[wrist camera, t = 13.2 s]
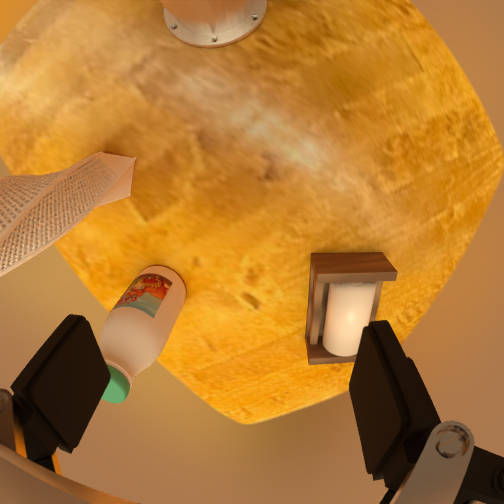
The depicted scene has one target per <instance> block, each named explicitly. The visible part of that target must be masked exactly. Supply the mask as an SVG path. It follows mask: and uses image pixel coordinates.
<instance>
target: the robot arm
mask: <svg viewBox="0 0 504 504" xmlns="http://www.w3.org/2000/svg"><path fill="white" fill-rule="evenodd" d="M158 1H159V2H160V3H161V4H162V5H163V6H164V9H163V15H164V21H165V23H166V26H167V27H168V29H169V30H170V32H171V33H172V34H173V35H174V36H175V37H177V38H178V39H179V40H181V41H182V42H185V43H187V44H189V45H193V46H196V47H204V48H213V47H221V46H226V45H229V44H232V43H235V42H238V41H239V40H241V39H243V38H245V37H247V36H248V35H249V34H251V33H252V32H253V31H254V30H255V29H256V28H257V27H258V26H259V25H260V23H261V22H262V20H263V18H264V16H265V13H266V10H267V0H158ZM255 18H256V19H257V20H253V19H255ZM176 27H177V28H176ZM175 28H176V29H175ZM214 40H217V42H216V43H213V41H214ZM110 379H111V374H110V371H109V369H108V367H107V364H106V362H105V360H104V358H103V355H102V353H101V351H100V348H99V346H98V344H97V341H96V339H95V336H94V334H93V331H92V329H91V326H90V323H89V322H88V321H87V320H86V318H85V317H84V316H82V315H73V314H70V315H68V316H67V317H66V318H65V319H64V320H63V321H62V323H61V324H60V325H59V326H58V327H57V329H56V330H55V331H54V332H53V333H52V335H51V336H50V337H49V338H48V339H47V340H46V342H45V343H44V344H43V345H42V346H41V348H40V349H39V350H38V351H37V353H36V354H35V355H34V356H33V358H32V359H31V360H30V361H29V363H28V364H27V365H26V367H25V368H24V369H23V370H22V372H21V373H20V374H19V376H18V377H17V378H16V380H15V381H14V382H13V384H12V385H11V389H12V390H13V392H14V395H13V396H12V395H11V393H10V392H9V391H8V390H6V389H0V504H139V503H136V502H132V501H129V500H125V499H122V498H119V497H115V496H112V495H109V494H106V493H103V492H101V491H98V490H95V489H92V488H90V487H87V486H85V485H82V484H80V483H77V482H75V481H72V480H70V479H68V478H65V477H63V475H62V471H61V468H60V464H59V461H58V457H57V453H56V448H57V446H58V447H59V448H60V449H61V450H63V451H65V452H68V453H70V454H71V453H72V451H73V449H74V448H76V447H77V446H78V444H79V442H80V440H81V438H82V436H83V434H84V432H85V429H86V428H87V425H88V423H89V421H90V419H91V417H92V415H93V413H94V411H95V409H96V407H97V405H98V403H99V401H100V399H101V398H102V396H103V394H104V392H105V390H106V388H107V386H108V384H109V382H110ZM349 392H350V396H351V400H352V405H353V409H354V413H355V418H356V422H357V427H358V431H359V436H360V440H361V446H362V451H363V456H364V460H365V465H366V471H367V473H368V474H372V475H373V480H374V481H375V480H380V479H384V482H385V487H387V489H386V490H385V492H384V494H383V495H382V497H381V498H380V500H379V501H378V503H377V504H504V457H501V456H499V455H496V454H494V453H491V452H489V451H486V450H484V449H481V448H479V447H476V446H474V437H473V434H472V432H471V430H470V429H469V428H468V427H467V426H466V425H464V424H462V423H460V422H457V421H445V422H443V423H441V421H440V418H439V416H438V414H437V411H436V409H435V407H434V405H433V402H432V400H431V398H430V396H429V394H428V391H427V389H426V387H425V385H424V383H423V380H422V378H421V377H420V374H419V372H418V370H417V368H416V366H415V364H414V362H413V360H412V359H411V358H409V357H406V355H405V353H404V351H403V349H402V347H401V345H400V343H399V341H398V339H397V337H396V335H395V333H394V331H393V329H392V327H391V326H390V324H389V322H388V321H387V320H381V321H371V322H369V324H368V326H364V327H363V330H362V335H361V339H360V343H359V348H358V352H357V356H356V360H355V364H354V368H353V371H352V375H351V379H350V383H349Z"/></svg>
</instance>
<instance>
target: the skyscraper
mask: <svg viewBox="0 0 504 504" xmlns="http://www.w3.org/2000/svg"><path fill="white" fill-rule="evenodd" d="M136 160H137V157H134V158H131V157H126V156H120V155H114V154H108V153H104V151H101V152H98V153H95V154H93V155H90V156H88V157H86V158H84V159H82V160H81V161H79V162H77V163H76V164H74V165H73V166H71V167H70V168H68V169H65V170H62V171H59V172H55V173H50V174H45V175H14V176H6V177H1V178H0V276H2V275H4V274H6V273H7V272H9V271H11V270H12V269H14V268H16V267H18V266H19V265H21V264H22V263H24V262H26V261H27V260H29V259H30V258H32V257H34V256H35V255H37V254H38V253H40V252H41V251H43V250H44V249H46V248H47V247H49V246H50V245H52V244H53V243H54V242H56V241H57V240H59V239H60V238H61V237H63V236H64V235H65V234H66V233H68V232H69V231H70V230H71V229H73V228H74V227H75V226H76V225H77V224H78V223H80V222H81V221H82V220H83V219H84V218H85V217H86V216H87V215H88V214H89V213H90V212H91V211H92V210H93V209H94V208H96V207H99V206H102V205H105V204H108V203H111V202H114V201H117V200H120V199H123V198H125V197H129V196H131V185H132V178H133V171H134V165H135V161H136Z"/></svg>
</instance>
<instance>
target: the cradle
mask: <svg viewBox="0 0 504 504" xmlns="http://www.w3.org/2000/svg"><path fill="white" fill-rule="evenodd" d="M396 277H397V271H396V269H395V268H394V267H393V265H392V264H391V263H390V262H389V260H388V259H387V258H386V257H385V256H384V254H383V253H382V252H374V253H311V265H310V283H309V298H308V311H307V324H306V335H305V341H306V348H307V355H308V362H309V365H316V364H334V363H347V362H355V360H356V356H357V354H355V355H352V356H338V355H334V354H332V353H330V352H329V351H327V350H326V349H325V347H324V346H323V342H322V341H323V334H324V326H325V318H326V310H327V302H328V293H329V283H347V282H374V281H376V290H375V295H374V300H373V305H372V310H371V315H370V319H369V322H371V321H375V317H376V313H377V308H378V303H379V299H380V294H381V288H382V283H383V281H396Z"/></svg>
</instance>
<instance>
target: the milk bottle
mask: <svg viewBox="0 0 504 504" xmlns="http://www.w3.org/2000/svg"><path fill="white" fill-rule="evenodd" d="M185 298H186V289H185V285H184V283H183V281H182V280H181V278H180V277H179V276H178V275H177V273H175V272H174V271H173V270H171V269H169V268H166V267H163V266H151V267H148V268H146V269H144V270H143V271H142V272H141V273H140V274H139V275H138V276H137V277H136V279H135V280H134V281H133V283H132V284H131V285H130V286H129V288H128V289H127V290H126V292H125V293H124V294H123V295H122V297H121V298H120V299H119V301H118V302H117V304H116V305H115V306H114V308H113V309H112V311H111V312H110V314H109V315H108V317H107V319H106V321H105V323H104V325H103V328H102V332H101V345H100V351H101V353H102V355H103V358H104V360H105V362H106V364H107V367H108V369H109V371H110V374H111V379H110V382H109V384H108V386H107V388H106V390H105V392H104V394H103V396H102V398H101V399H103V400H106V401H108V402H112V403H121V402H123V401H124V400H125V399H126V397H127V395H128V393H129V390H130V388H131V386H132V379H133V378H134V377H135V376H136V375H137V374H138V373H139V372H141V371H142V370H144V369H146V368H147V367H148V366H150V365H151V364H152V363H153V362H154V361H155V360H156V359H157V358H158V357H159V355H160V354H161V352H162V350H163V348H164V346H165V344H166V342H167V340H168V338H169V335H170V333H171V331H172V329H173V327H174V324H175V322H176V320H177V317H178V315H179V313H180V311H181V308H182V306H183V304H184V301H185Z"/></svg>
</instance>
